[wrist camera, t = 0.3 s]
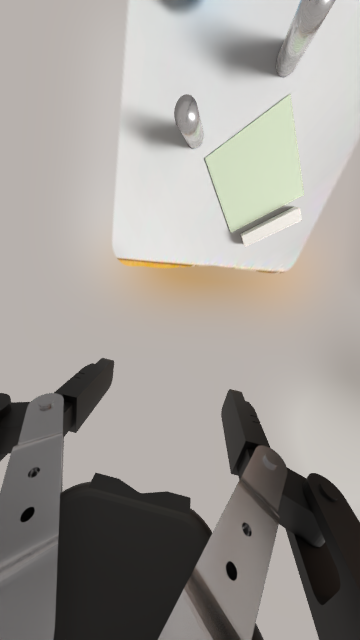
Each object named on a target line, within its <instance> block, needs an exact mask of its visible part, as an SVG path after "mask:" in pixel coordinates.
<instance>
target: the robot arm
mask: <svg viewBox="0 0 360 640" xmlns="http://www.w3.org/2000/svg"><path fill="white" fill-rule="evenodd" d="M113 368H114V361H113V360H109V359H105V358H102V359H100V360H99V361H98V362H97V363H96V364H90V365H87V366H85V367H84V368H82V369H81V370H80V371H79V372H78V373H77V374H75V375H74V376H73V377H72V378H71V379H70V380H68V381H67V382H66V383H65V384H64V385H63V386H61V387H60V388H59V389H58V390H57V391H56V392H54V393H49V394H44V395H41V396H39V397H37V398H35V399H34V400H33V401H31V402H17V403H11V399H10V396H9V395H7V394H4V393H0V461H1V460H2V459H3V458H4V457H5V456H6V455H7V454H8V453H11V455H10V459H9V462H8V466H7V470H6V474H5V477H4V481H3V484H2V488H1V492H0V640H263V637H262V635H261V633H260V631H259V629H258V627H257V625H256V623H255V622H256V618H257V614H258V610H259V605H260V601H261V597H262V593H263V589H264V584H265V580H266V576H267V572H268V567H269V563H270V559H271V555H272V550H273V546H274V542H275V537H276V533H277V529H278V525H279V524H280V525H282V526H283V527H284V528H286V532H287V535H288V538H289V541H290V545H291V548H292V551H293V555H294V558H295V561H296V565H297V568H298V571H299V575H300V578H301V581H302V584H303V588H304V591H305V594H306V598H307V601H308V604H309V607H310V610H311V614H312V617H313V620H314V624H315V627H316V630H317V633H318V637H319V640H360V522H359V520H358V519H357V517H356V516H355V514H354V512H353V511H352V509H351V507H350V506H349V504H348V503H347V501H346V499H345V498H344V496H343V495H342V493H341V492H340V491H339V490H338V489H337V487H336V486H335V485H334V484H332V483H331V482H330V481H329V480H328V479H326V478H325V477H323V476H321V475H319V474H316V473H311V474H309V476H308V477H307V479H306V478H304V477H303V476H301V475H299V474H297V473H296V472H294V471H292V470H290V469H289V468H287V467H286V464H285V463H284V461H283V459H282V458H281V457H280V456H279V454H277V453H276V452H275V451H274V450H273V449H271V448H270V446H269V443H268V441H267V438H266V436H265V434H264V431H263V429H262V426H261V424H260V421H259V419H258V418H257V414H256V412H255V409H254V408H253V407H252V406H251V404H250V403H249V402H246V401H245V400H244V397H243V394H242V392H239V391H235V390H231V389H230V390H229V391H228V393H227V396H226V399H225V401H224V404H223V407H222V422H223V428H224V434H225V440H226V446H227V452H228V458H229V464H230V469H231V474H234V475H238V476H239V482H238V484H237V486H236V488H235V490H234V492H233V494H232V496H231V498H230V500H229V502H228V504H227V506H226V508H225V510H224V512H223V513H222V516H221V518H220V519H219V522H218V524H217V525H216V527H215V529H214V531H213V533H212V532H211V530H210V528H209V527H208V525H207V524H206V523H205V521H204V520H203V519H202V518H201V517H200V516H199V515H198V514H197V513H196V512H195V511H194V510H192V509H190V498H189V497H185V496H182V495H178V494H174V493H170V492H155V493H139V492H137V491H136V490H134V489H133V488H131V487H130V486H128V485H127V484H125V483H124V482H123V481H121V480H120V479H117V478H113V477H110V476H106V475H102V474H98V473H95V475H94V477H93V479H92V481H91V482H86V483H81V484H78V485H75V486H73V487H71V488H69V489H67V490H65V491H63V492H62V485H63V484H62V483H63V482H62V481H63V443H64V436H65V435H66V434H67V432H68V431H71V432H75V433H76V432H77V431H78V429H79V428H80V427H81V425H82V424H83V423H84V421H85V420H86V419H87V417H88V416H89V415H90V413H91V412H92V411H93V409H94V408H95V406H96V405H97V404H98V403H99V401H100V400H101V398H102V397H103V396H104V394H105V393H106V392H107V390H108V389H109V387H110V385H111V382H112V378H113Z"/></svg>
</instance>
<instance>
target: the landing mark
mask: <svg viewBox="0 0 360 640" xmlns="http://www.w3.org/2000/svg"><path fill="white" fill-rule="evenodd" d="M205 160H206V163H207V166H208V169H209V172H210V175H211V177H212V180H213V183H214V186H215V189H216V192H217V195H218V198H219V201H220V203H221V206H222V209H223V212H224V215H225V218H226V221H227V224H228V226H229V229H230V232H231V233H232V232H234V231H236V230H237V229H239V228H241V227H243V226H245V225H247V224H249V223H251V222H253V221H255V220H257V219H259V218H261V217H263V216H264V215H266V214H268V213H270V212H272V211H274V210H276V209H278V208H280V207H282V206H284V205H286V204H288V203H289V202H291V201H293V200H295V199H297V198H299V197H301V196H303V195H304V190H303V183H302V175H301V168H300V161H299V153H298V146H297V139H296V132H295V124H294V117H293V110H292V102H291V95H288V96H287V97H286V98H284V99H283V100H282V101H280V102H279V103H278V104H276V105H275V106H274V107H272V108H271V109H270V110H268V111H267V112H266V113H264V114H263V115H262V116H260V117H259V118H258V119H256V120H255V121H254V122H252V123H251V124H250V125H248V126H247V127H246V128H244V129H243V130H242V131H240V132H239V133H238V134H237V135H235V136H234V137H233V138H231V139H230V140H229V141H227V142H226V143H225V144H223V145H222V146H221V147H219V148H218V149H217V150H215V151H214V152H213V153H211V154H210V155H209V156H207V157H206V158H205Z"/></svg>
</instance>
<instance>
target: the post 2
mask: <svg viewBox="0 0 360 640" xmlns="http://www.w3.org/2000/svg"><path fill="white" fill-rule="evenodd" d="M334 2H335V0H301V1H300V4H299V6H298V9H297V11H296V13H295V16H294V18H293V21H292V23H291V25H290V28H289V30H288V33H287V35H286V37H285V40H284V42H283V45H282V47H281V49H280V52H279V54H278V57H277V61H276V70H277V73H278V75H279V76H281V77H286V76H288V75H290V74H291V73H292V72H293V71H294V69H295V68H296V66H297V64H298V63H299V61H300V59H301V58H302V56H303V54H304V53H305V51H306V49H307V48H308V46H309V44H310V42H311V41H312V39H313V37H314V36H315V34H316V32H317V31H318V29H319V27H320V26H321V24H322V22H323V20H324V19H325V17H326V15H327V14H328V12H329V10H330V9H331V7H332V5H333V4H334Z"/></svg>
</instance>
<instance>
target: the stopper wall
mask: <svg viewBox="0 0 360 640" xmlns="http://www.w3.org/2000/svg"><path fill="white" fill-rule="evenodd" d="M300 221H302V218H301V211H300V207H293V208H291V209H289V210H287V211H285V212H283V213H281V214H279V215H277V216H275V217H273V218H271V219H269V220H267V221H265V222H263V223H261V224H259V225H257V226H255V227H253V228H251V229H249V230H247V231H245V232H243V233H241V234H240V235H241V238H242V241H243V244H244V246H245V247H246V246H248V245H251V244H253V243H255V242H257V241H259V240H261V239H263V238H266V237H268V236H270V235H272V234H274V233H276V232H278V231H281V230H283V229H285V228H287V227H289V226H291V225H293V224H296V223H298V222H300Z"/></svg>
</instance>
